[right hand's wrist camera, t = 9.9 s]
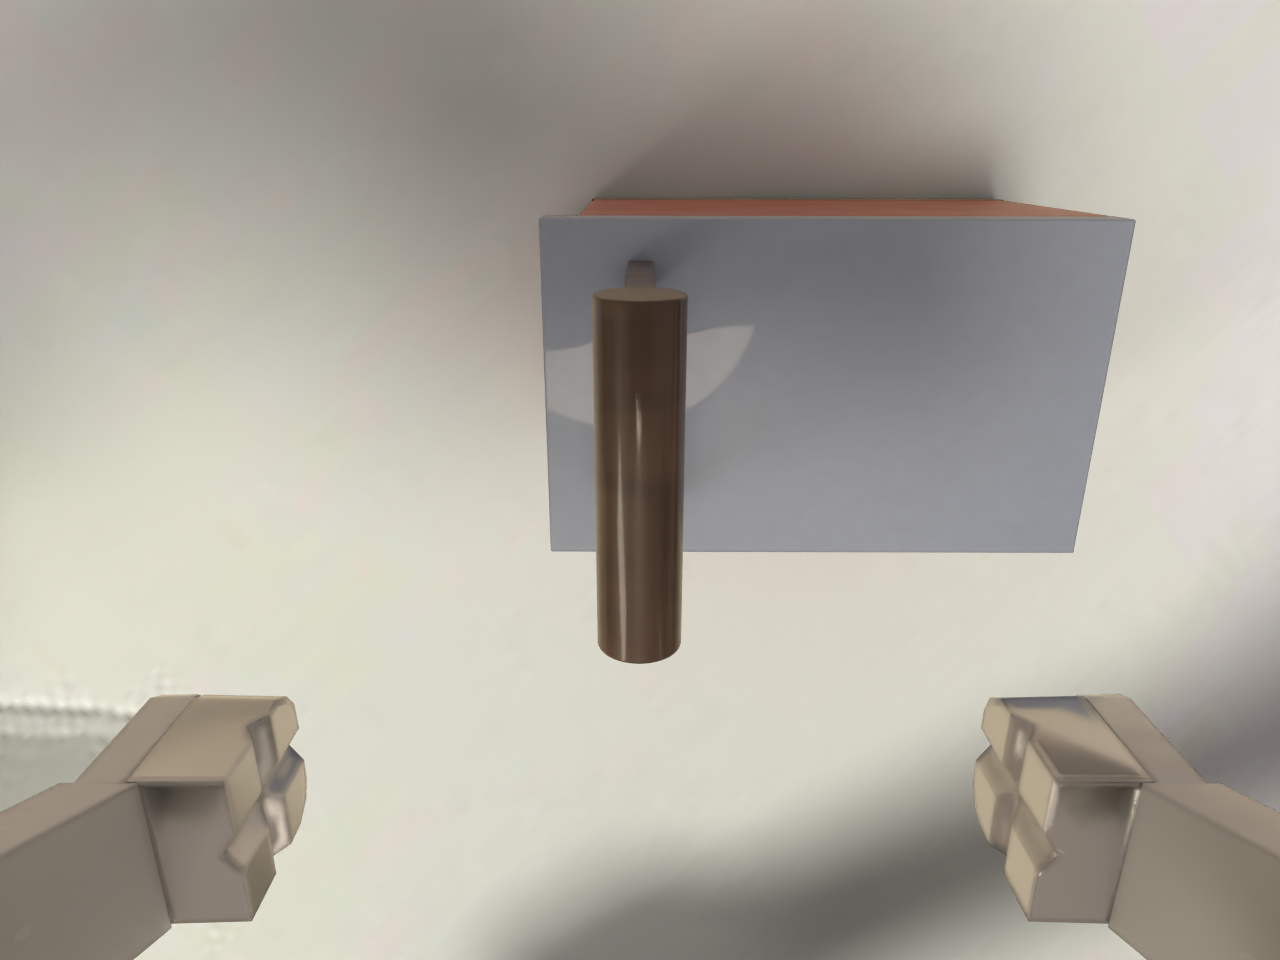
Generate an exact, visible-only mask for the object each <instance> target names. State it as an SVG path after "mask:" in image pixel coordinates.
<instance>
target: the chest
mask: <svg viewBox="0 0 1280 960" xmlns="http://www.w3.org/2000/svg"><path fill="white" fill-rule="evenodd" d="M580 215H641V216H1106V215H1099V214H1092V213H1085V212H1078V211H1071V210H1064V209H1057V208H1050V207H1043V206H1036V205H1029V204H1022V203H1016V202H1009V201H1003V200H999V199H761V198H593V199H592V202H591V203H590V204H589V205H588V206H587V207H586V208H585V209H584V211H583V212H582V213H581V214H580Z"/></svg>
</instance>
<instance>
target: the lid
mask: <svg viewBox="0 0 1280 960" xmlns="http://www.w3.org/2000/svg"><path fill="white" fill-rule="evenodd" d="M1134 227H1135V220H1134V219H1128V218H1121V217H1114V216H641V215H545V216H543V217H542V218H540V219H539V235H540V263H541V290H542V318H543V345H544V372H545V400H546V427H547V455H548V482H549V510H550V537H551V551H596V563H597V622H598V645H599V647H600V649H601V650H602V651H603V652H604V653H605V654H606V655H607V656H609V657H611V658H613V659H615V660H618V661H622V662H627V663H636V664H643V663H652V662H657V661H661V660H663V659H666V658H668V657H670V656H671V655H673V654H674V653H675V652H676V651H677V650H678V648H679V646H680V644H681V612H682V562H683V552H993V553H1072V552H1073V551H1074V545H1075V540H1076V535H1077V529H1078V524H1079V519H1080V513H1081V508H1082V503H1083V497H1084V492H1085V487H1086V482H1087V476H1088V471H1089V466H1090V460H1091V455H1092V450H1093V444H1094V439H1095V434H1096V428H1097V423H1098V418H1099V413H1100V407H1101V402H1102V397H1103V391H1104V386H1105V381H1106V375H1107V370H1108V365H1109V359H1110V354H1111V349H1112V344H1113V338H1114V333H1115V328H1116V322H1117V317H1118V312H1119V306H1120V301H1121V296H1122V290H1123V285H1124V280H1125V275H1126V269H1127V264H1128V259H1129V253H1130V248H1131V243H1132V237H1133V232H1134Z"/></svg>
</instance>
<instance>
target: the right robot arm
mask: <svg viewBox="0 0 1280 960" xmlns="http://www.w3.org/2000/svg"><path fill="white" fill-rule="evenodd" d="M298 729H299V726H298V721H297V716H296V711H295V706H294V703H293V702H292V701H291V700H290V699H289V698H288V697H284V696H236V695H203V696H201V695H159V696H156V697H153V698H150V699H149V700H148V701H147V702H146V703H145V705H144V706H143V707H142V708H141V709H140V710H139V711H138V712H137V713H136V715H135V716H134V717H133V718H132V719H131V720H130V721H129V722H128V723H127V724H126V726H125V727H124V728H123V729H122V730H121V731H120V732H119V733H118V734H117V736H116V737H115V738H114V739H113V740H112V741H111V742H110V743H109V744H108V745H107V747H106V748H105V749H104V750H103V751H102V752H101V753H100V754H99V755H98V757H97V758H96V759H95V760H94V761H93V762H92V763H91V764H90V765H89V767H88V768H87V769H86V770H85V771H84V772H83V773H82V774H81V775H80V776H79V778H78V779H77V780H76V781H75V782H74V783H59V784H57V785H55V786H53V787H51V788H49V789H47V790H44V791H42V792H40V793H38V794H36V795H34V796H32V797H30V798H28V799H26V800H24V801H22V802H20V803H18V804H16V805H14V806H12V807H10V808H8V809H6V810H4V811H2V812H0V960H133V959H135V958H136V957H137V956H138V955H139V954H141V953H142V952H143V951H144V950H145V949H147V948H148V947H149V946H150V945H151V944H153V943H154V942H155V941H156V940H158V939H159V938H160V937H161V936H162V935H164V934H165V933H166V932H167V931H168V930H170V929H171V924H173V923H208V922H242V921H252V920H253V918H254V916H255V914H256V912H257V910H258V908H259V906H260V904H261V902H262V900H263V898H264V896H265V894H266V892H267V890H268V888H269V887H270V885H271V883H272V881H273V879H274V877H275V875H276V869H275V864H274V858H273V856H274V855H275V854H277V853H278V852H280V851H281V850H282V849H284V848H285V847H287V846H288V845H290V844H291V843H292V841H293V839H294V837H295V834H296V832H297V830H298V828H299V826H300V824H301V820H302V815H303V811H304V806H305V802H306V780H307V778H306V771H305V764H304V760H303V759H302V758H301V757H300V755H299V754H298V753H297V752H296V751H295V750H294V749H293V748H292V747H291V746H290V745H289V744H290V743H291V741H292V739H293V737H294V736H295V734H296V732H297V730H298ZM981 729H982V730H983V732H984V734H985V736H986V737H987V739H988V741H989V743H990V744H991V745H990V746H989V747H988V748H987V749H986V750H985V751H984V752H983V753H982V754H981V755H980V757H979V758H978V759H977V760H976V765H975V773H974V781H973V789H974V799H975V809H976V812H977V816H978V819H979V823H980V826H981V828H982V830H983V832H984V835H985V837H986V839H987V841H988V843H989V844H990V845H992V846H993V847H995V848H996V849H998V850H999V851H1000V852H1002V853H1003V854H1005V855H1006V856H1007V858H1006V864H1005V869H1004V875H1005V877H1006V879H1007V881H1008V883H1009V885H1010V886H1011V888H1012V890H1013V892H1014V894H1015V896H1016V898H1017V900H1018V902H1019V904H1020V906H1021V908H1022V910H1023V912H1024V914H1025V916H1026V918H1027V920H1028V921H1036V922H1071V923H1107V924H1109V926H1108V927H1109V928H1110V929H1111V930H1112V931H1113V932H1115V933H1116V934H1117V935H1118V936H1119V937H1121V938H1122V939H1123V940H1124V941H1125V942H1127V943H1128V944H1129V945H1130V946H1131V947H1133V948H1134V949H1135V950H1136V951H1137V952H1139V953H1140V954H1141V955H1142V956H1143V957H1145V958H1146V959H1147V960H1280V812H1278V811H1276V810H1274V809H1272V808H1270V807H1268V806H1266V805H1264V804H1262V803H1260V802H1258V801H1256V800H1254V799H1252V798H1250V797H1248V796H1246V795H1244V794H1242V793H1240V792H1238V791H1236V790H1233V789H1231V788H1229V787H1227V786H1225V785H1223V784H1221V783H1206V782H1205V781H1204V780H1203V779H1202V778H1201V776H1200V775H1199V774H1198V773H1197V772H1196V771H1195V770H1194V769H1193V768H1192V767H1191V765H1190V764H1189V763H1188V762H1187V761H1186V760H1185V759H1184V758H1183V757H1182V755H1181V754H1180V753H1179V752H1178V751H1177V750H1176V749H1175V748H1174V747H1173V745H1172V744H1171V743H1170V742H1169V741H1168V740H1167V739H1166V738H1165V737H1164V736H1163V734H1162V733H1161V732H1160V731H1159V730H1158V729H1157V728H1156V727H1155V726H1154V724H1153V723H1152V722H1151V721H1150V720H1149V719H1148V718H1147V717H1146V716H1145V714H1144V713H1143V712H1142V711H1141V710H1140V709H1139V708H1138V707H1137V706H1136V705H1135V703H1134V702H1133V701H1132V700H1131V699H1129V698H1127V697H1125V696H1123V695H1121V694H1106V695H1077V696H1061V697H1007V698H990V699H989V701H988V703H987V705H986V707H985V709H984V714H983V720H982V726H981Z"/></svg>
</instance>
